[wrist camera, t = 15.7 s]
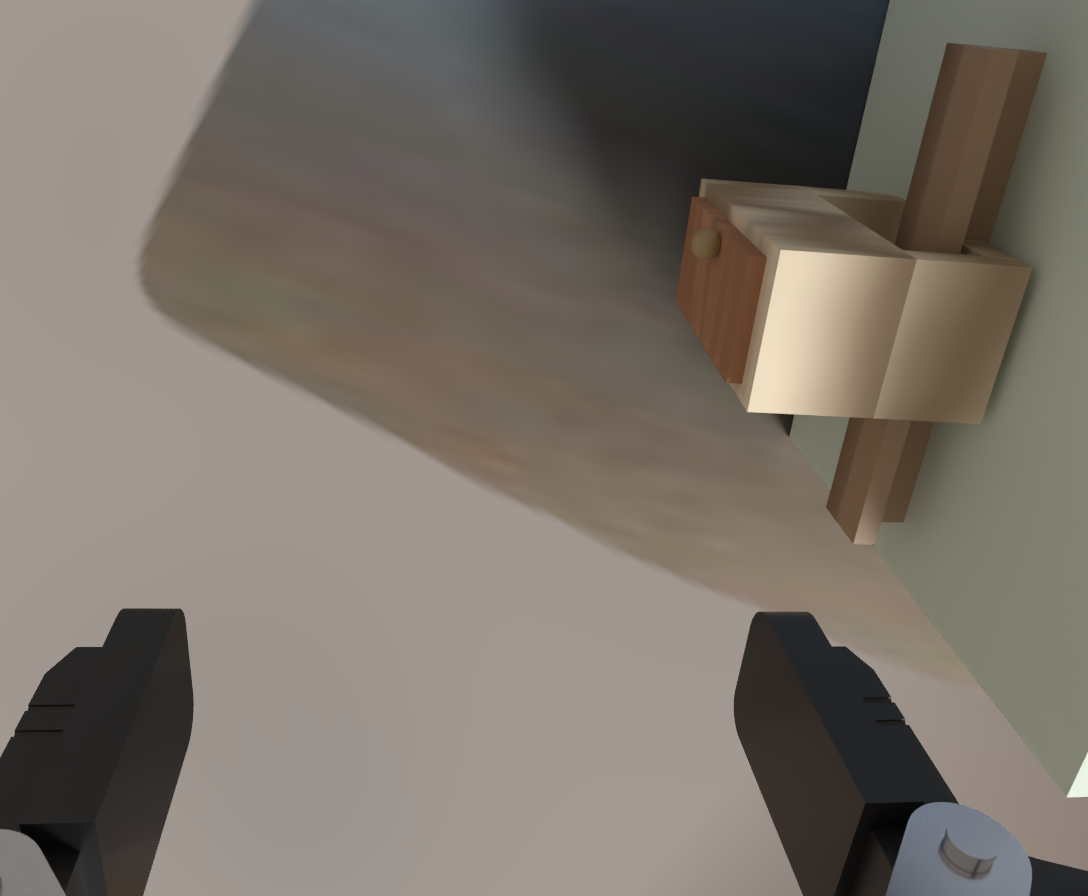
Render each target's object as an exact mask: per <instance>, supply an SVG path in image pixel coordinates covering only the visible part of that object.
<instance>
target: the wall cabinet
mask: <svg viewBox="0 0 1088 896" xmlns="http://www.w3.org/2000/svg"><path fill="white" fill-rule="evenodd" d="M905 202H906V200H904V199H902V198H900V197H898V196H897V195H895V194H893V193H881V192H868V191H855V190H842V189H830V188H817V187H804V186H791V185H779V184H766V183H753V182H740V181H728V180H715V179H701V185H700V191H699V197H692V200H691V206H690V213H689V219H688V225H687V232H686V238H685V244H684V250H683V257H682V263H681V269H680V276H679V282H678V288H677V295H676V303H677V305H678V306H679V308H680V309H681V311H682V313H683V314H684V316H685V318H686V319H687V321H688V322H689V324H690V326H691V327H692V329H693V330H694V332H695V334H696V335H697V337H698V338H699V340H700V342H701V343H702V345H703V346H704V348H705V350H706V351H707V353H708V354H709V356H710V358H711V359H712V361H713V363H714V364H715V366H716V367H717V369H718V371H719V372H720V374H721V375H722V377H723V379H724V380H725V382H726V383H729V384H730V385H731V387H732V388H733V390H734V391H735V393H736V395H737V396H738V398H739V399H740V401H741V403H742V404H743V406H744V407H745V409H746V411H747V412H759V413H778V414H797V415H816V416H835V417H855V418H874V419H893V420H912V421H931V422H951V423H970V424H981V422H982V419H983V416H984V413H985V410H986V407H987V404H988V401H989V398H990V395H991V392H992V389H993V386H994V383H995V380H996V377H997V374H998V371H999V368H1000V365H1001V362H1002V359H1003V355H1004V352H1005V349H1006V346H1007V343H1008V340H1009V337H1010V334H1011V331H1012V328H1013V325H1014V322H1015V319H1016V316H1017V313H1018V310H1019V307H1020V304H1021V301H1022V298H1023V295H1024V292H1025V289H1026V286H1027V283H1028V280H1029V277H1030V274H1031V271H1032V267H1030V266H1029V265H1027V264H1025V263H1023V262H1021V261H1019V260H1017V259H1015V258H1013V257H1012V256H1010V255H1008V254H1006V253H1004V252H1002V251H1000V250H998V249H996V248H995V247H993V246H991V245H989V244H987V243H985V242H983V241H979V240H965V239H964V242H963V246H962V249H961V252H960V254H950V253H936V252H923V251H909V250H902V249H900V248H898V247H897V246H895V241H896V237H897V233H898V229H899V225H900V222H901V218H902V214H903V210H904V206H905Z"/></svg>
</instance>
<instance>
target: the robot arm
mask: <svg viewBox="0 0 1088 896" xmlns="http://www.w3.org/2000/svg"><path fill="white" fill-rule="evenodd" d="M193 705H194V703H193V688H192V679H191V669H190V660H189V651H188V641H187V631H186V622H185V616H184V613H183V611H182V610H181V609H122V610H121V611H120V612H119V614H118V615H117V617H116V619H115V622H114V623H113V626H112V628H111V630H110V632H109V634H108V636H107V638H106V641H105V643H104V645H103V647H76V648H75V649H73V650H72V651H71V652H70V653H69V654H68V655H67V656H65V657H64V658H63V659H62V660H61V661H60V662H58V663H57V664H56V665H55V666H54V667H53V668H51V669H50V670H49V671H48V672H47V673H46V674H45V675H44V677H43V679H42V680H41V682H40V684H39V686H38V688H37V690H36V692H35V694H34V695H33V698H32V699H31V701H30V703H29V705H28V706H29V708H28V711H25V712H24V714H23V716H22V718H21V720H20V722H19V724H18V725H17V727H16V729H15V736H14V737H11V739H10V740H9V742H8V744H7V746H6V748H5V750H4V752H3V753H2V756H1V757H0V896H143V894H144V890H145V887H146V884H147V881H148V877H149V874H150V871H151V867H152V864H153V861H154V857H155V854H156V851H157V847H158V844H159V841H160V838H161V834H162V831H163V828H164V824H165V821H166V818H167V814H168V811H169V808H170V804H171V801H172V798H173V794H174V791H175V788H176V785H177V781H178V778H179V775H180V771H181V768H182V765H183V761H184V758H185V755H186V751H187V748H188V744H189V741H190V736H191V730H192V722H193ZM734 717H735V725H736V729H737V733H738V736H739V739H740V741H741V744H742V746H743V749H744V751H745V754H746V756H747V759H748V761H749V763H750V766H751V769H752V771H753V773H754V776H755V778H756V781H757V783H758V786H759V788H760V791H761V793H762V795H763V798H764V800H765V803H766V805H767V808H768V810H769V813H770V815H771V818H772V820H773V823H774V825H775V827H776V830H777V832H778V835H779V837H780V840H781V842H782V845H783V847H784V850H785V852H786V855H787V857H788V859H789V862H790V864H791V867H792V869H793V872H794V874H795V877H796V879H797V882H798V884H799V887H800V889H801V891H802V894H803V896H1088V871H1085V870H1081V869H1076V868H1072V867H1068V866H1064V865H1060V864H1056V863H1052V862H1047V861H1043V860H1040V859H1036V858H1033V857H1029V856H1028V855H1027V853H1026V852H1025V850H1024V849H1023V847H1022V845H1021V844H1020V843H1019V841H1018V840H1017V839H1016V838H1015V837H1014V836H1013V835H1012V834H1011V833H1010V832H1009V831H1008V830H1007V829H1006V828H1005V827H1003V826H1002V825H1001V824H1000V823H998V822H997V821H995V820H994V819H992V818H991V817H989V816H987V815H985V814H983V813H982V812H979V811H977V810H975V809H972V808H970V807H967V806H964V805H960V804H959V803H958V802H957V800H956V798H955V797H954V795H953V794H952V792H951V791H950V789H949V787H948V786H947V784H946V783H945V781H944V780H943V778H942V776H941V775H940V773H939V772H938V770H937V769H936V767H935V765H934V764H933V762H932V761H931V759H930V758H929V756H928V754H927V753H926V751H925V750H924V748H923V747H922V745H921V743H920V742H919V740H918V739H917V737H916V736H915V734H914V732H913V731H912V729H911V728H910V726H909V725H906V724H905V718H904V717H903V715H902V714H901V712H900V710H899V709H898V707H897V706H896V704H895V703H892V702H891V696H890V695H889V693H888V692H887V690H886V688H885V687H884V685H883V684H882V682H881V681H880V679H879V678H878V676H877V674H876V673H875V671H874V670H873V669H872V668H871V667H869V666H868V665H867V664H866V663H865V662H863V661H862V660H861V659H860V658H859V657H857V656H856V655H855V654H854V653H853V652H851V651H850V650H849V649H848V648H847V647H832V646H831V645H830V643H829V641H828V640H827V638H826V636H825V635H824V633H823V631H822V630H821V628H820V626H819V625H818V623H817V621H816V620H815V618H814V617H813V615H812V614H810V613H809V612H757V613H756V614H755V616H754V617H753V619H752V622H751V625H750V630H749V634H748V639H747V643H746V647H745V651H744V655H743V660H742V664H741V668H740V673H739V677H738V681H737V685H736V690H735V696H734Z"/></svg>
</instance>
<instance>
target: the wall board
mask: <svg viewBox="0 0 1088 896" xmlns="http://www.w3.org/2000/svg"><path fill="white" fill-rule="evenodd" d="M846 190H855V191H868V192H881V193H893V194H895V195H897V196H898V197H900V198H902V199H904V200H906V202H905V206H904V210H903V214H902V218H901V222H900V225H899V229H898V233H897V237H896V241H895V246H897V247H898V248H900V249H902V250H909V251H923V252H936V253H950V254H960V252H961V249H962V246H963V242H964V239H965V240H979V241H983V242H985V243H987V244H989V245H991V246H993V247H995V248H996V249H998V250H1000V251H1002V252H1004V253H1006V254H1008V255H1010V256H1012V257H1013V258H1015V259H1017V260H1019V261H1021V262H1023V263H1025V264H1027V265H1029V266H1030V267H1032V271H1031V274H1030V277H1029V280H1028V283H1027V286H1026V289H1025V292H1024V295H1023V298H1022V301H1021V304H1020V307H1019V310H1018V313H1017V316H1016V319H1015V322H1014V325H1013V328H1012V331H1011V334H1010V337H1009V340H1008V343H1007V346H1006V349H1005V352H1004V355H1003V359H1002V362H1001V365H1000V368H999V371H998V374H997V377H996V380H995V383H994V386H993V389H992V392H991V395H990V398H989V401H988V404H987V407H986V410H985V413H984V416H983V419H982V422H981V424H970V423H951V422H931V421H912V420H893V419H874V418H855V417H835V416H816V415H797V414H794V418H793V423H792V427H791V431H790V436H789V438H790V439H791V440H792V442H793V443H794V444H795V446H796V447H797V448H798V449H799V451H800V452H801V453H802V455H803V456H804V457H805V459H806V460H807V461H808V462H809V464H810V465H811V466H812V468H813V469H814V470H815V472H816V473H817V474H818V475H819V477H820V478H821V479H822V481H823V482H824V483H825V485H826V486H827V487H828V488H829V490H830V495H829V498H828V502H827V506H826V508H827V509H828V510H829V512H830V513H831V514H832V516H833V517H834V519H835V520H836V521H837V523H838V524H839V525H840V527H841V528H842V529H843V531H844V532H845V533H846V535H847V536H848V537H849V539H850V540H851V542H852V543H853V544H872V545H873V547H874V548H875V549H876V551H877V552H878V553H879V555H880V556H881V557H882V558H883V560H884V561H885V562H886V564H887V565H888V566H889V568H890V569H891V570H892V571H893V573H894V574H895V575H896V577H897V578H898V579H899V580H900V582H901V583H902V584H903V586H904V587H905V588H906V590H907V591H908V592H909V593H910V595H911V596H912V597H913V599H914V600H915V601H916V603H917V604H918V605H919V606H920V608H921V609H922V610H923V612H924V613H925V614H926V616H927V617H928V618H929V619H930V621H931V622H932V623H933V625H934V626H935V627H936V628H937V630H938V631H939V632H940V634H941V635H942V636H943V638H944V639H945V640H946V641H947V643H948V644H949V645H950V647H951V648H952V649H953V651H954V652H955V653H956V654H957V656H958V657H959V658H960V660H961V661H962V662H963V664H964V665H965V666H966V667H967V669H968V670H969V671H970V673H971V674H972V675H973V676H974V678H975V679H976V680H977V682H978V683H979V684H980V686H981V687H982V688H983V689H984V691H985V692H986V693H987V695H988V696H989V697H990V699H991V700H992V701H993V702H994V704H995V705H996V706H997V708H998V709H999V710H1000V711H1001V713H1002V714H1003V715H1004V717H1005V718H1006V719H1007V720H1008V722H1009V723H1010V724H1011V726H1012V727H1013V728H1014V730H1015V731H1016V732H1017V733H1018V735H1019V736H1020V737H1021V739H1022V740H1023V741H1024V743H1025V744H1026V745H1027V747H1028V748H1029V749H1030V750H1031V752H1032V753H1033V754H1034V756H1035V757H1036V758H1037V759H1038V761H1039V762H1040V763H1041V765H1042V766H1043V767H1044V768H1045V770H1046V771H1047V772H1048V773H1049V775H1050V776H1051V777H1052V779H1053V780H1054V781H1055V783H1056V784H1057V785H1058V787H1059V788H1060V789H1061V791H1062V792H1063V793H1064V795H1065V796H1066V797H1088V0H890V2H889V6H888V10H887V15H886V19H885V23H884V28H883V32H882V36H881V41H880V45H879V49H878V54H877V58H876V62H875V67H874V71H873V75H872V80H871V84H870V88H869V93H868V97H867V102H866V106H865V110H864V115H863V119H862V123H861V128H860V132H859V136H858V141H857V145H856V149H855V154H854V158H853V162H852V167H851V171H850V175H849V180H848V184H847V188H846Z"/></svg>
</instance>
